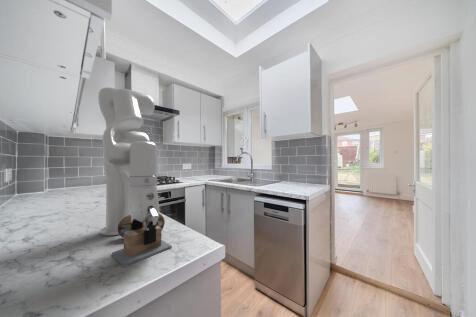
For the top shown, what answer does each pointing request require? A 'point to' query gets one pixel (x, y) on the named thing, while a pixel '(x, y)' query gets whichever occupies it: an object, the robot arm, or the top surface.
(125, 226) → the tin
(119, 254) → the mat
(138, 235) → the card box
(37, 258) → the top surface
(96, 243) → the top surface
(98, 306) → the top surface
